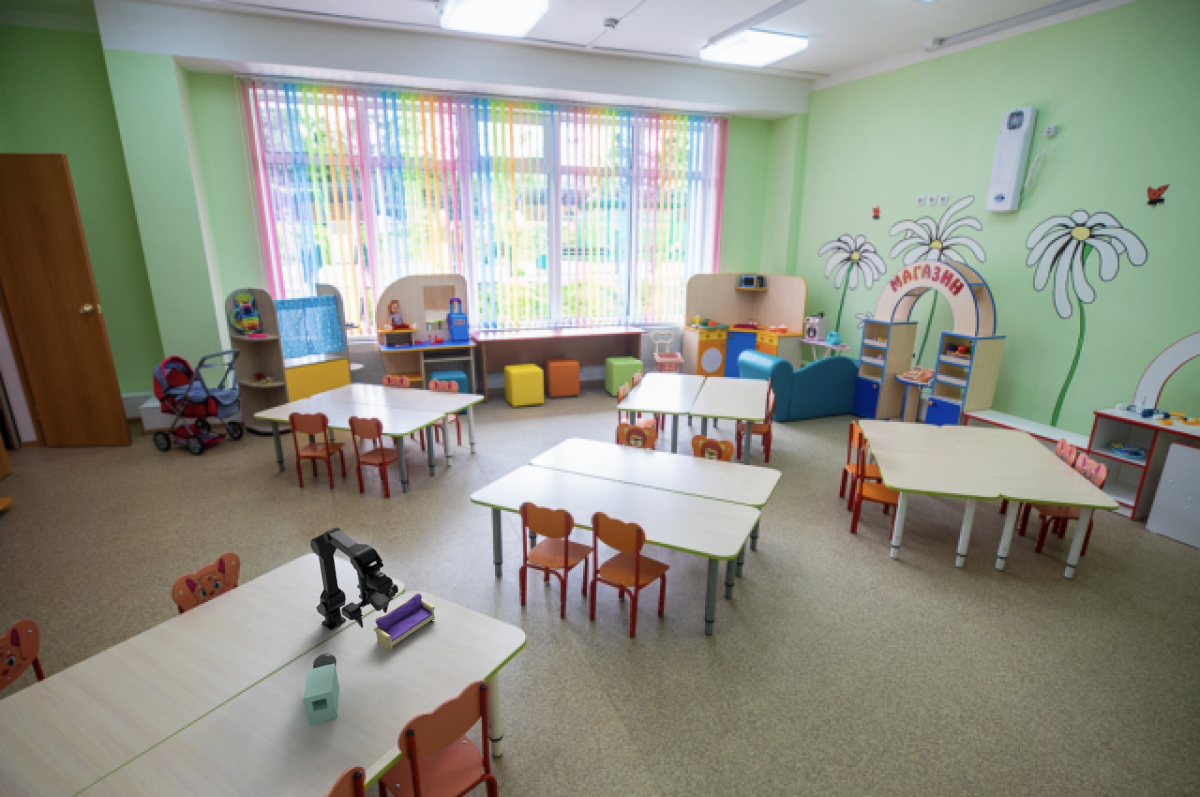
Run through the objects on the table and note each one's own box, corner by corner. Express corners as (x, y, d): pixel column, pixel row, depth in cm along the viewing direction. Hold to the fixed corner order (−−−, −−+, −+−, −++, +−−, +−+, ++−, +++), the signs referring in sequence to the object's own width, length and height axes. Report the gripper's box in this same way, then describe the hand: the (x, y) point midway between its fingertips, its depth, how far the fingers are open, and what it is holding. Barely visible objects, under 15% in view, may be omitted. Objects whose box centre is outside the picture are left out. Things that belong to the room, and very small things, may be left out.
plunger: (315, 673, 192) (311, 656, 190) (337, 667, 195) (334, 651, 192) (311, 702, 181) (307, 684, 179) (335, 695, 183) (332, 678, 181)
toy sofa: (389, 653, 205) (385, 629, 202) (375, 642, 210) (371, 619, 207) (436, 620, 221) (434, 598, 218) (422, 611, 226) (420, 590, 223)
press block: (312, 695, 187) (307, 669, 184) (339, 688, 190) (334, 663, 187) (308, 725, 177) (303, 698, 173) (337, 717, 179) (332, 691, 176)
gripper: (357, 606, 184) (363, 645, 189) (405, 576, 198) (410, 614, 203) (337, 593, 190) (344, 631, 195) (386, 565, 204) (391, 602, 209)
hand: (373, 619), depth 200 cm, fingers open, 9 cm apart
